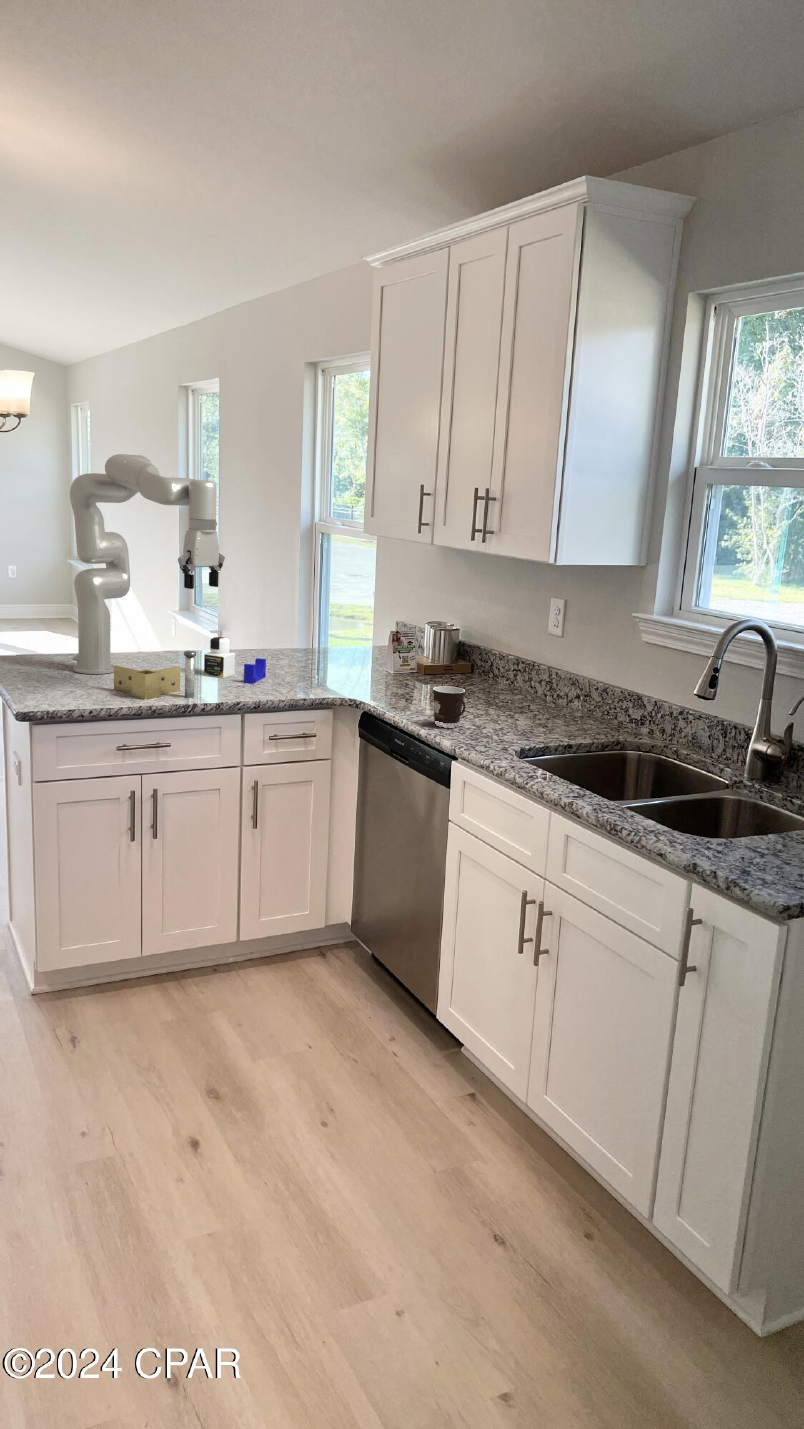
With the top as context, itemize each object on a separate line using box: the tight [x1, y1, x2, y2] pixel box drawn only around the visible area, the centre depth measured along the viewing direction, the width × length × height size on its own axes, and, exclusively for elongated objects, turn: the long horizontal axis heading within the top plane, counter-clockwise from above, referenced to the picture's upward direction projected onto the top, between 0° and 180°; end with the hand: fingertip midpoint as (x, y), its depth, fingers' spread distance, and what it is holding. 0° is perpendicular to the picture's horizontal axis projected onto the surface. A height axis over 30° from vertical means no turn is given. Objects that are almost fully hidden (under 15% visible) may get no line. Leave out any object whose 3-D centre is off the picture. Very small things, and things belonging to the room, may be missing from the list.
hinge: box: [113, 664, 181, 700], centre depth 298 cm, size 16×16×7 cm
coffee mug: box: [432, 685, 466, 723], centre depth 278 cm, size 12×9×10 cm
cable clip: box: [243, 657, 267, 685], centre depth 323 cm, size 12×4×6 cm, turn 169°
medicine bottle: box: [203, 636, 236, 679], centre depth 326 cm, size 7×7×12 cm
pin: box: [183, 650, 197, 699], centre depth 294 cm, size 3×3×13 cm
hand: (201, 587), depth 291 cm, fingers open, 9 cm apart
